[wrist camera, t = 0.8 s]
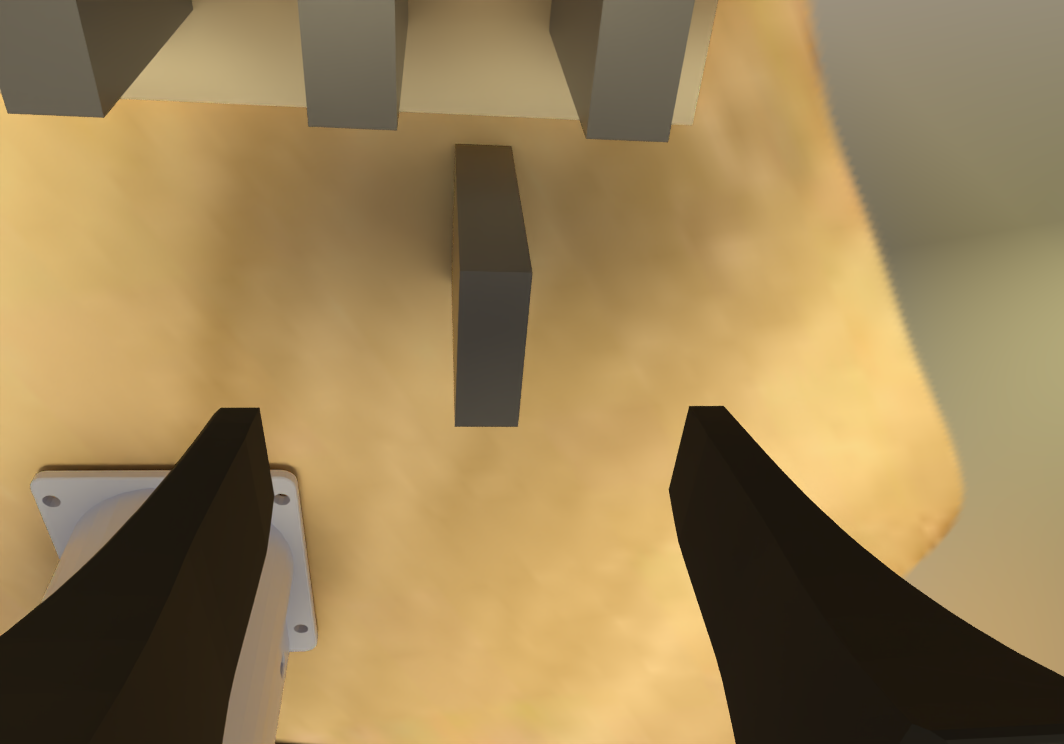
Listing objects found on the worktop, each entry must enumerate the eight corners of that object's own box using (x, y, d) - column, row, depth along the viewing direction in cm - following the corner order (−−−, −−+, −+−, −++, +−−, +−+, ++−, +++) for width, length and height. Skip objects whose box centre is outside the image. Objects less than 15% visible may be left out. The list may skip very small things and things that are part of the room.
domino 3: (501, 282, 23) (517, 426, 19) (451, 281, 23) (454, 426, 18) (511, 146, 21) (532, 272, 16) (455, 144, 21) (459, 270, 16)
